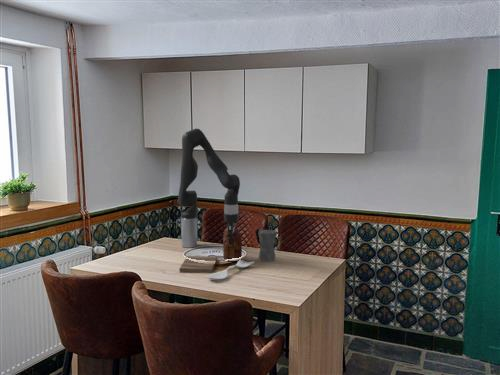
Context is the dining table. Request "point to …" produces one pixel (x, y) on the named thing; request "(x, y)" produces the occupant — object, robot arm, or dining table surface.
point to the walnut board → (198, 264)
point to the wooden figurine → (233, 249)
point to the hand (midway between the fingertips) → (231, 242)
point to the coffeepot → (266, 244)
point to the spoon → (224, 273)
